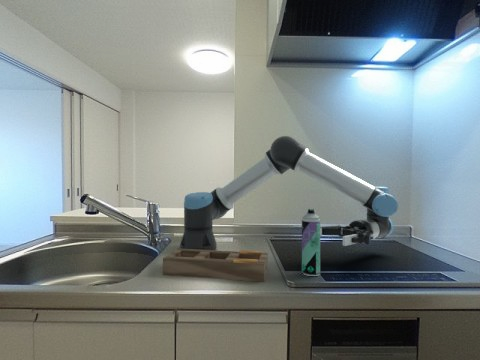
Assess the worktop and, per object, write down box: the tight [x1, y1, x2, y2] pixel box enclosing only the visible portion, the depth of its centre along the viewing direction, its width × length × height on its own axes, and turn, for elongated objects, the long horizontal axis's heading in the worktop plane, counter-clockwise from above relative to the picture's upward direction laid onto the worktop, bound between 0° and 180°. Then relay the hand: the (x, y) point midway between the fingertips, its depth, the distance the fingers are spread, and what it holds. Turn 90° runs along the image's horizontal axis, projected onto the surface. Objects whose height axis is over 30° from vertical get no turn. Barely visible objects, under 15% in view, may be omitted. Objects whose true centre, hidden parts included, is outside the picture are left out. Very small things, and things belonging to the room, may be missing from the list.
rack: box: [162, 248, 269, 283], centre depth 87 cm, size 12×31×6 cm, turn 79°
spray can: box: [301, 208, 321, 277], centre depth 84 cm, size 6×6×20 cm
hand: (324, 237), depth 87 cm, fingers open, 13 cm apart
